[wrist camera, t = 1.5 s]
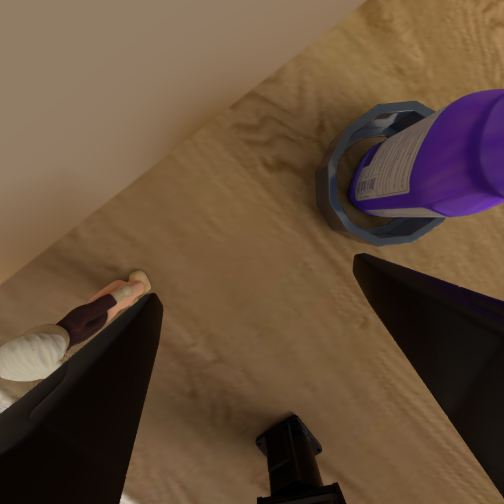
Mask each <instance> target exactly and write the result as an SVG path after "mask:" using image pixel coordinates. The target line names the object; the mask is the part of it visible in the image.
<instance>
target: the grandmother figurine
mask: <svg viewBox="0 0 504 504" xmlns="http://www.w3.org/2000/svg"><path fill="white" fill-rule="evenodd" d="M150 289H151V285H150V282H149V280H148V278H147V275H146V274H145V273H144V272H143V271H141V270H137V271H134V272H132V273H131V274H130V276H129V282H125V281H122V280H117V281H114V282H112V283H111V284H109V285H108V286H106V287H105V288H103V289H102V290H101V291H100V292H98V293H97V294H96V295H95V296H94V297H93V298H91V299H90V300H89V301H88V302H87V303H86V304H85V305H82V306H79V307H77V308H75V309H73V310H72V311H71V312H69V313H68V314H67V315H66V316H65V317H64V318H63V319H62V320H60V321H59V322H58V323H57V324H56V325H55V324H45V325H40V326H37V327H34V328H32V329H30V330H28V331H26V332H25V333H24V334H23V335H22V336H20V337H19V338H16V339H14V340H12V341H10V342H8V343H6V344H4V345H3V346H1V347H0V377H2V378H4V379H7V380H13V381H32V380H37V379H45V378H46V377H48V376H49V375H50V374H51V373H53V372H54V371H55V370H56V369H57V368H59V367H60V366H61V365H62V364H63V363H62V362H61V361H60V359H61V358H62V357H63V356H64V354H65V352H66V351H68V350H69V349H70V348H71V347H72V346H73V345H76V344H78V343H81V342H83V341H85V340H86V339H88V338H89V337H90V336H92V335H93V334H94V333H96V332H97V331H98V330H100V329H101V328H102V327H103V325H104V324H106V323H107V322H108V321H110V320H111V319H112V318H113V317H114V316H115V315H116V314H117V313H118V311H119V310H121V309H123V308H125V307H127V306H132V305H133V304H134V303H136V302H137V301H138V296H139V295H141V294H142V293H147V292H148V291H150Z"/></svg>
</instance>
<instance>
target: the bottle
mask: <svg viewBox="0 0 504 504" xmlns="http://www.w3.org/2000/svg"><path fill="white" fill-rule="evenodd" d="M349 199H350V200H351V202H352V203H353V205H354V206H355V207H357V208H358V209H360V210H362V212H364V213H367V214H369V215H373V216H380V217H455V216H464V215H470V214H474V213H478V212H482V211H484V210H487V209H489V208H492V207H494V206H497V205H499V204H501V203H503V202H504V89H498V90H486V91H480V92H476V93H472V94H469V95H466V96H464V97H462V98H460V99H458V100H456V101H455V102H453V103H451V104H449V105H448V106H446V107H444V108H442V109H441V110H439V111H437V112H435V113H433V114H432V115H430V116H428V117H426V118H424V119H423V120H421V121H419V122H417V123H415V124H413V125H412V126H410V127H408V128H406V129H404V130H403V131H401V132H399V133H397V134H395V135H393V136H392V137H390V138H388V139H386V140H384V141H383V142H381V143H378V144H377V145H375V146H374V147H373V148H372V149H370V150H369V151H368V152H367V154H366V155H365V156H364V158H363V159H362V160H361V162H360V163H359V165H358V167H357V169H356V171H355V173H354V175H353V178H352V181H351V185H350V189H349Z"/></svg>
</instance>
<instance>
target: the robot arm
mask: <svg viewBox="0 0 504 504" xmlns="http://www.w3.org/2000/svg"><path fill="white" fill-rule="evenodd" d="M353 274H354V276H355V278H356V280H357V282H358V284H359V286H360V287H361V289H362V291H363V293H364V295H365V297H366V299H367V300H368V302H369V304H370V305H371V307H372V308H373V310H374V311H375V313H376V314H377V315H378V317H379V318H380V320H381V321H382V323H383V324H384V326H385V327H386V328H387V330H388V331H389V333H390V334H391V336H392V337H393V339H394V340H395V341H396V343H397V344H398V346H399V347H400V349H401V350H402V352H403V353H404V354H405V356H406V357H407V359H408V360H409V362H410V363H411V365H412V366H413V367H414V369H415V370H416V372H417V373H418V375H419V376H420V378H421V379H422V380H423V382H424V383H425V385H426V386H427V388H428V389H429V391H430V392H431V393H432V395H433V396H434V398H435V399H436V401H437V402H438V404H439V405H440V406H441V408H442V409H443V411H444V412H445V414H446V415H447V416H448V418H449V420H450V421H451V423H452V424H453V426H454V427H455V428H456V430H457V431H458V433H459V434H460V436H461V437H462V439H463V440H464V441H465V443H466V444H467V446H468V447H469V449H470V450H471V452H472V453H473V454H474V456H475V457H476V459H477V460H478V462H479V463H480V465H481V466H482V467H483V469H484V470H485V472H486V473H487V475H488V476H489V478H490V479H491V480H492V482H493V483H494V485H495V486H496V488H497V489H498V491H499V492H500V493H501V495H502V496H503V498H504V301H502V300H498V299H495V298H492V297H489V296H486V295H483V294H480V293H477V292H474V291H471V290H469V289H466V288H463V287H459V286H457V285H454V284H452V283H449V282H446V281H443V280H440V279H437V278H434V277H432V276H429V275H426V274H423V273H420V272H417V271H415V270H412V269H409V268H406V267H403V266H400V265H397V264H395V263H392V262H389V261H386V260H383V259H380V258H378V257H375V256H372V255H369V254H366V253H361V254H356V255H355V256H354V261H353ZM162 318H163V305H162V303H161V301H160V300H159V298H158V296H157V294H156V293H149V294H145V295H144V296H143V297H141V298H140V299H139V300H138V301H137V302H136V303H134V304H133V305H132V306H131V307H130V308H128V309H127V310H126V311H125V312H124V313H123V314H121V315H120V316H119V317H118V318H117V319H115V320H114V321H113V322H112V323H111V324H110V325H108V326H107V327H106V328H105V329H104V330H102V331H101V332H100V333H99V334H98V335H96V336H95V337H94V338H93V339H92V340H91V341H89V342H88V343H87V344H86V345H85V346H83V347H82V348H81V349H80V350H79V351H78V352H76V353H75V354H74V355H73V356H72V357H70V358H69V360H68V361H66V362H64V363H63V364H62V365H61V366H60V367H59V368H57V369H56V370H55V371H54V372H53V373H51V374H50V375H49V376H48V377H46V378H45V379H44V380H43V381H42V382H40V383H39V384H38V385H37V386H35V387H34V388H33V389H32V390H30V391H29V392H28V393H26V394H25V395H24V396H23V397H21V398H20V399H19V400H18V401H16V402H15V403H14V404H12V405H11V406H10V407H8V408H7V409H6V410H5V411H3V412H2V413H1V414H0V504H119V503H120V499H121V495H122V491H123V487H124V483H125V479H126V474H127V470H128V466H129V462H130V458H131V454H132V450H133V446H134V442H135V438H136V434H137V430H138V426H139V422H140V418H141V414H142V410H143V406H144V402H145V398H146V394H147V389H148V385H149V381H150V377H151V373H152V369H153V365H154V361H155V357H156V353H157V349H158V345H159V340H160V333H161V325H162ZM256 445H257V447H258V448H259V449H260V450H261V451H262V452H263V454H264V455H265V456H266V457H267V463H268V472H269V480H270V491H271V496H269V497H264V498H262V497H257V504H346V502H345V499H344V497H343V494H342V492H341V489H340V487H339V484H338V482H336V483H333V484H332V485H327V486H323V483H322V479H321V476H320V472H319V469H318V465H317V462H316V458H315V456H316V455H318V454H319V453H321V452H322V447H321V445H320V444H319V442H318V441H317V440H316V439H315V437H314V436H313V435H312V434H311V432H310V431H309V430H308V429H307V427H306V426H305V425H304V424H303V422H302V421H301V420H300V419H299V417H298V416H296V415H293V416H291V417H290V418H288V419H286V420H285V421H283V422H282V423H280V424H279V425H277V426H275V427H274V428H272V429H271V430H269V431H267V432H266V433H264V434H263V435H261V436H260V437H258V438H257V439H256Z"/></svg>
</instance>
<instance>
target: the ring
mask: <svg viewBox="0 0 504 504" xmlns="http://www.w3.org/2000/svg"><path fill="white" fill-rule="evenodd" d="M433 113H435V111H434V110H432V109H430V108H428V107H426V106H425V105H423V104H421V103H419V102H417V101H409V102H398V103H387V104H378V105H376V106H375V107H374V108H372V109H371V110H369V111H368V112H367V113H365V114H364V115H363V116H361V117H360V118H359V119H357V120H356V121H354V122H353V123H352V124H350V125H349V126H348V127H346V128H345V129H344V130H343V131H342V132H341V133H340V134H338V135H337V136H336V137H335V138H334V139H333V140H332V141H331V142H330V143H329V145H328V147H327V150H326V152H325V154H324V156H323V158H322V160H321V162H320V164H319V166H318V168H317V170H316V195H317V206H318V208H319V209H320V211H321V212H322V214H323V215H324V217H325V218H326V220H327V222H328V223H329V225H330V226H331V228H332V229H333V230H334V231H336V232H338V233H340V234H342V235H344V236H346V237H348V238H350V239H353V240H355V241H357V242H359V243H364V244H369V245H374V246H388V245H398V244H408V243H413V242H414V241H416V240H417V239H419V238H420V237H422V236H423V235H425V234H426V233H428V232H429V231H431V230H432V229H434V228H435V227H437V226H438V225H440V224H441V223H443V222H444V220H445V218H446V217H397V218H396V219H394V220H393V221H391V222H390V223H388V224H387V225H385V226H379V227H369V228H362V227H360V226H358V225H356V224H354V223H352V222H351V221H350V219H349V217H348V216H347V214H346V213H345V211H344V209H343V208H342V206H341V205H340V203H339V201H338V200H337V174H336V166H337V164H338V162H339V160H340V158H341V156H342V154H343V152H344V151H345V150H346V149H348V148H349V147H350V146H352V145H353V144H355V143H356V142H357V141H359V140H360V139H361V138H371V137H381V136H386V137H388V138H390V137H392V136H393V135H395V134H397V133H399V132H401V131H403V130H404V129H406V128H408V127H410V126H412V125H413V124H415V123H417V122H419V121H421V120H423V119H424V118H426V117H428V116H430V115H432V114H433Z"/></svg>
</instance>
